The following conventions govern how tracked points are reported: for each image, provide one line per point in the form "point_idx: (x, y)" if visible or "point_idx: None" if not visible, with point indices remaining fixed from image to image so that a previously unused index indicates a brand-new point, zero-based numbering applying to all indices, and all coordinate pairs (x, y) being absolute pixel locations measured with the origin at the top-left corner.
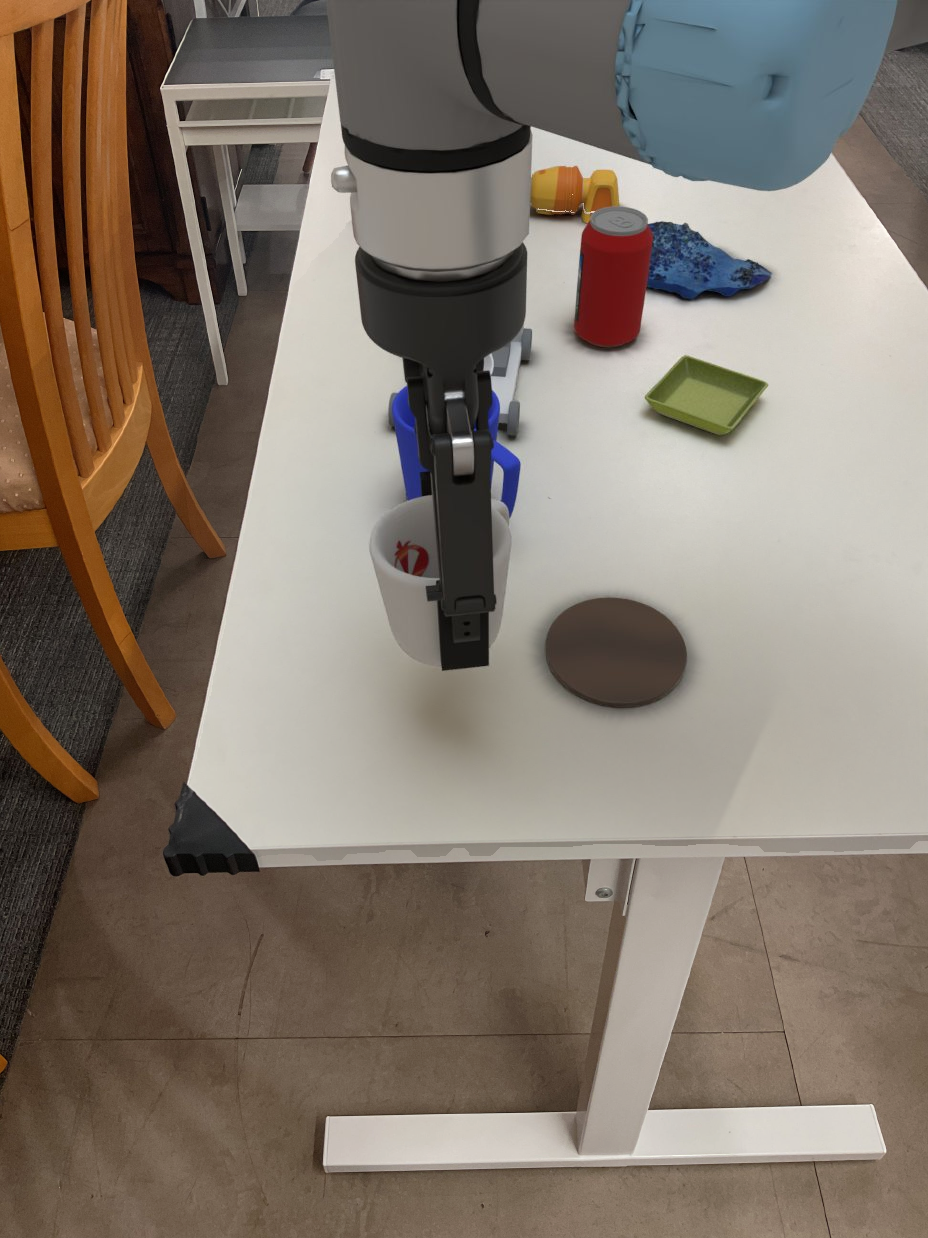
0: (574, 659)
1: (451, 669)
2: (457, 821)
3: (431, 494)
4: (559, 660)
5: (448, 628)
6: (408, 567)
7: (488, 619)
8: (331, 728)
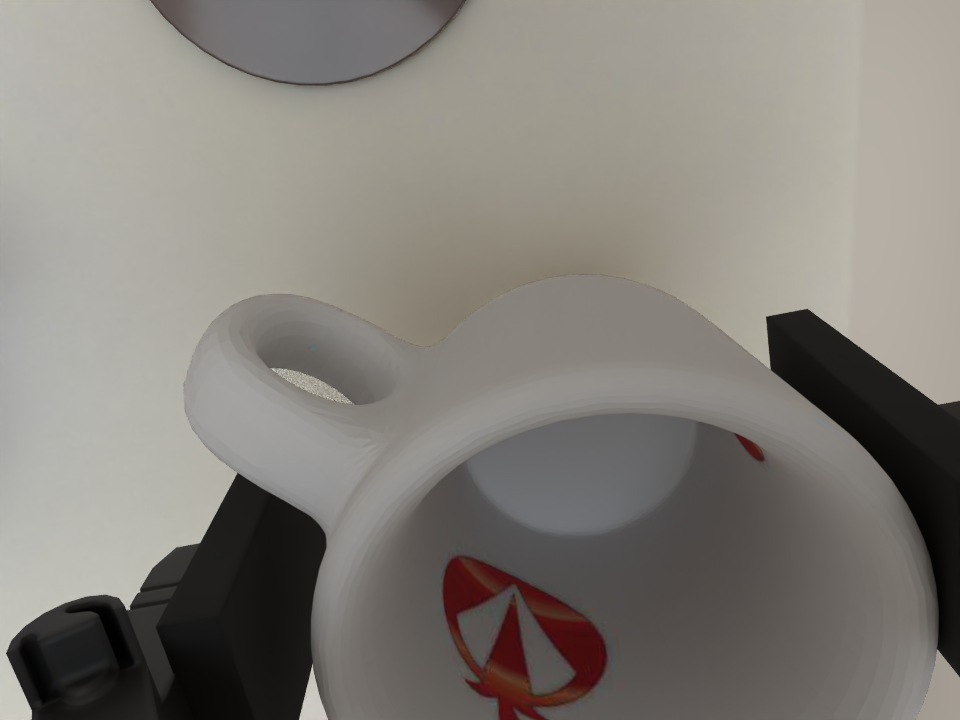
0: (358, 3)
1: None
2: (815, 272)
3: (284, 692)
4: (365, 46)
5: None
6: (498, 625)
7: (910, 386)
8: None
